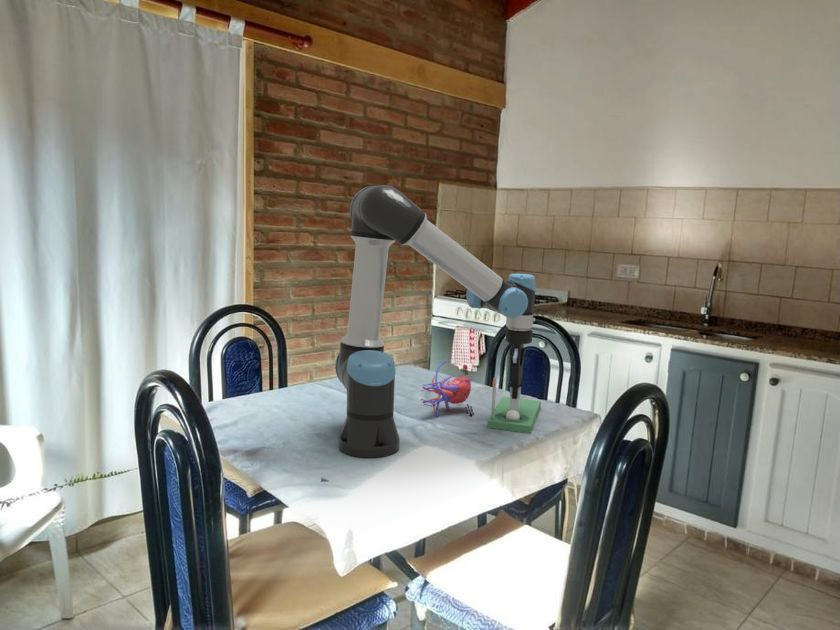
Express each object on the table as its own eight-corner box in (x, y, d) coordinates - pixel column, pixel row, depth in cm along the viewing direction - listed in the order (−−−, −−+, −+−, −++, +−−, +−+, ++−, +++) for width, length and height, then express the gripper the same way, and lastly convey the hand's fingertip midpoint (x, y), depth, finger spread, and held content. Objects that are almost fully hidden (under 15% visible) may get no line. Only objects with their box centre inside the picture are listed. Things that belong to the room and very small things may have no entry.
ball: (518, 427, 183) (518, 418, 180) (504, 426, 184) (504, 417, 181) (521, 416, 185) (520, 407, 183) (507, 415, 187) (506, 406, 184)
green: (529, 434, 175) (533, 384, 173) (486, 429, 178) (488, 379, 176) (540, 407, 201) (543, 363, 198) (502, 402, 204) (504, 359, 202)
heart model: (484, 416, 193) (440, 417, 179) (460, 417, 200) (415, 418, 185) (482, 359, 196) (438, 356, 182) (458, 362, 203) (414, 359, 188)
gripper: (529, 333, 176) (524, 416, 179) (535, 325, 188) (530, 404, 192) (502, 331, 178) (497, 413, 181) (509, 323, 190) (505, 401, 194)
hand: (514, 408), depth 187 cm, fingers closed
